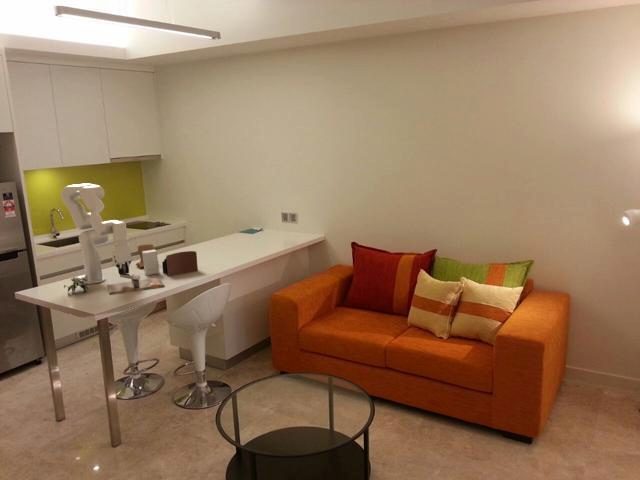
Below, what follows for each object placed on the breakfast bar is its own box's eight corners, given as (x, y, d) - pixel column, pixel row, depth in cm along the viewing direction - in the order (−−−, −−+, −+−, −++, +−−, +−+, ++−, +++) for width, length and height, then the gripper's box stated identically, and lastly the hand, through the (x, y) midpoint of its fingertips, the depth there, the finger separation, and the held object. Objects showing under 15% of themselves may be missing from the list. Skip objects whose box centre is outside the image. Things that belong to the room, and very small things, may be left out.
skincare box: (157, 271, 351) (155, 249, 348) (159, 273, 346) (157, 250, 343) (144, 273, 347) (141, 250, 344) (146, 275, 342) (143, 252, 339)
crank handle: (141, 278, 312) (140, 265, 310) (135, 280, 308) (134, 267, 307) (125, 275, 319) (123, 263, 318) (118, 277, 315) (117, 264, 314)
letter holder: (198, 271, 349) (196, 249, 346) (167, 276, 338) (165, 254, 335) (192, 268, 357) (190, 247, 354) (162, 273, 346) (160, 251, 344)
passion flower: (86, 300, 312) (94, 285, 308) (68, 302, 303) (76, 286, 299) (76, 287, 317) (84, 272, 313) (59, 288, 308) (67, 273, 303)
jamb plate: (109, 294, 303) (108, 284, 302) (107, 286, 319) (106, 277, 318) (164, 286, 316) (163, 277, 315) (159, 279, 332) (158, 270, 331)
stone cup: (150, 262, 377) (148, 241, 374) (161, 264, 370) (159, 242, 367) (131, 266, 365) (129, 245, 362) (141, 269, 358) (139, 247, 355)
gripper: (129, 239, 321) (132, 269, 325) (104, 245, 308) (107, 276, 311) (137, 241, 317) (140, 271, 320) (112, 246, 303) (115, 278, 307)
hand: (124, 273), depth 316 cm, fingers closed on crank handle, 3 cm apart
